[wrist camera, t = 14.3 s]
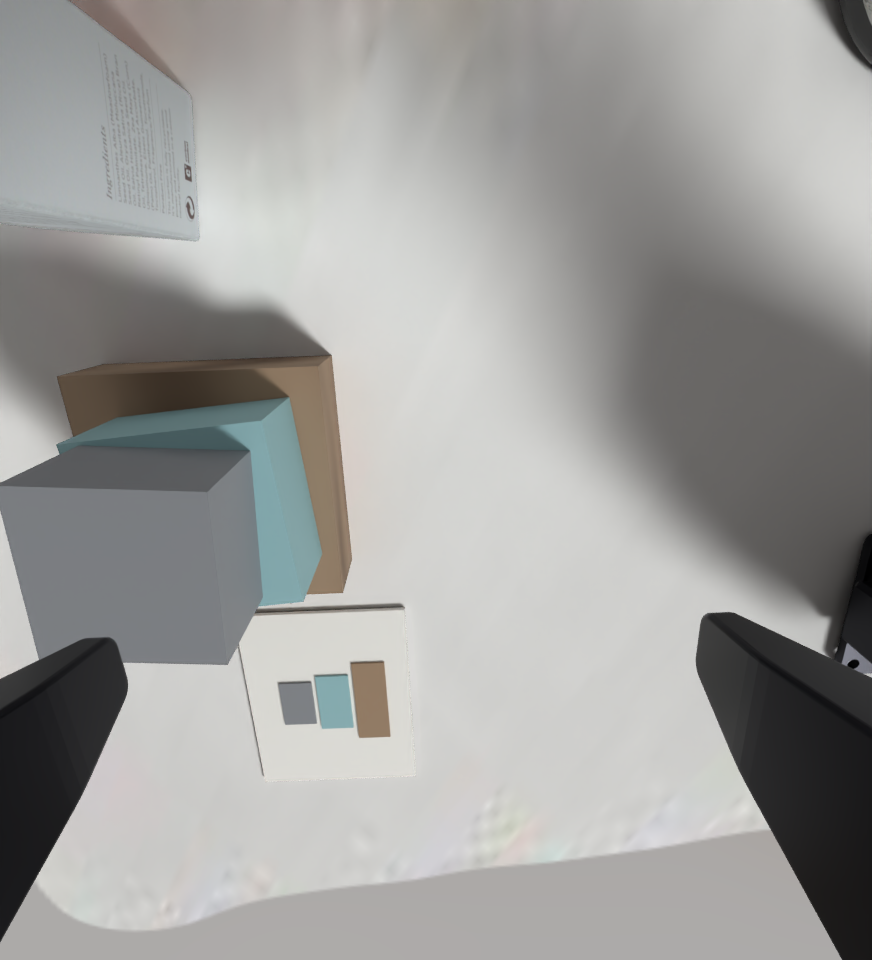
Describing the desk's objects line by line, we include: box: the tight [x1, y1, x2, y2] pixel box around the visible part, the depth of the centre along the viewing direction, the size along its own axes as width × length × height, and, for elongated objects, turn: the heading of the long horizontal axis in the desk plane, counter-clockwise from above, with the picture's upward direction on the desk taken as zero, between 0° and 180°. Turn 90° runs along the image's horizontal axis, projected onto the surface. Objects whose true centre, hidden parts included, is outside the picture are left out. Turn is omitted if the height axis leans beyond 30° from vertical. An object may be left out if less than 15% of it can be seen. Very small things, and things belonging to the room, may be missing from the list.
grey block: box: [0, 446, 263, 665], centre depth 14 cm, size 4×4×3 cm
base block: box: [57, 355, 352, 594], centre depth 20 cm, size 8×8×3 cm
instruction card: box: [239, 607, 416, 782], centre depth 24 cm, size 7×9×1 cm
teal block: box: [56, 397, 322, 606], centre depth 17 cm, size 6×6×3 cm
